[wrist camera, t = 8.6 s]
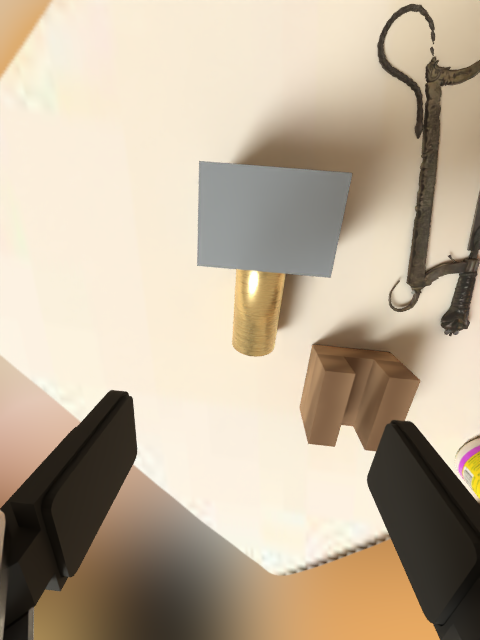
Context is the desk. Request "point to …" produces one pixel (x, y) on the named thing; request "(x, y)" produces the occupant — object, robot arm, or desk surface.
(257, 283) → the axle
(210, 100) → the desk surface
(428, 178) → the hacksaw
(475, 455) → the supplement bottle
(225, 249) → the grey hollow block
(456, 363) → the desk surface
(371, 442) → the v block
